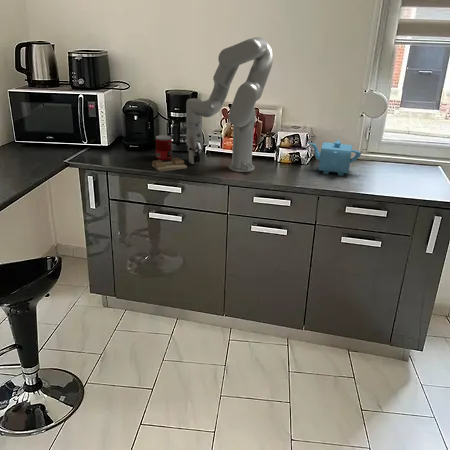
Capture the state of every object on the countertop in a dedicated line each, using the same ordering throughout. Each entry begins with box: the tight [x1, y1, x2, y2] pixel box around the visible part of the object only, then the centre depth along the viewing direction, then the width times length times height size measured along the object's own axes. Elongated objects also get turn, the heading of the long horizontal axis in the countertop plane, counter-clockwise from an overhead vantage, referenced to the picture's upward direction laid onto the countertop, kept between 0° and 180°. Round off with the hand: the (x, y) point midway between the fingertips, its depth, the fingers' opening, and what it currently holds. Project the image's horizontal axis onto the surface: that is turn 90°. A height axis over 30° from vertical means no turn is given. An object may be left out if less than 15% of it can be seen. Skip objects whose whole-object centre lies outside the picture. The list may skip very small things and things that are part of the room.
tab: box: [188, 149, 198, 164], centre depth 242 cm, size 4×4×7 cm
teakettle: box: [308, 139, 362, 177], centre depth 234 cm, size 19×19×15 cm
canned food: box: [155, 134, 173, 161], centre depth 245 cm, size 8×8×11 cm
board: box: [151, 157, 188, 173], centre depth 235 cm, size 10×14×2 cm
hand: (193, 160), depth 243 cm, fingers open, 5 cm apart
